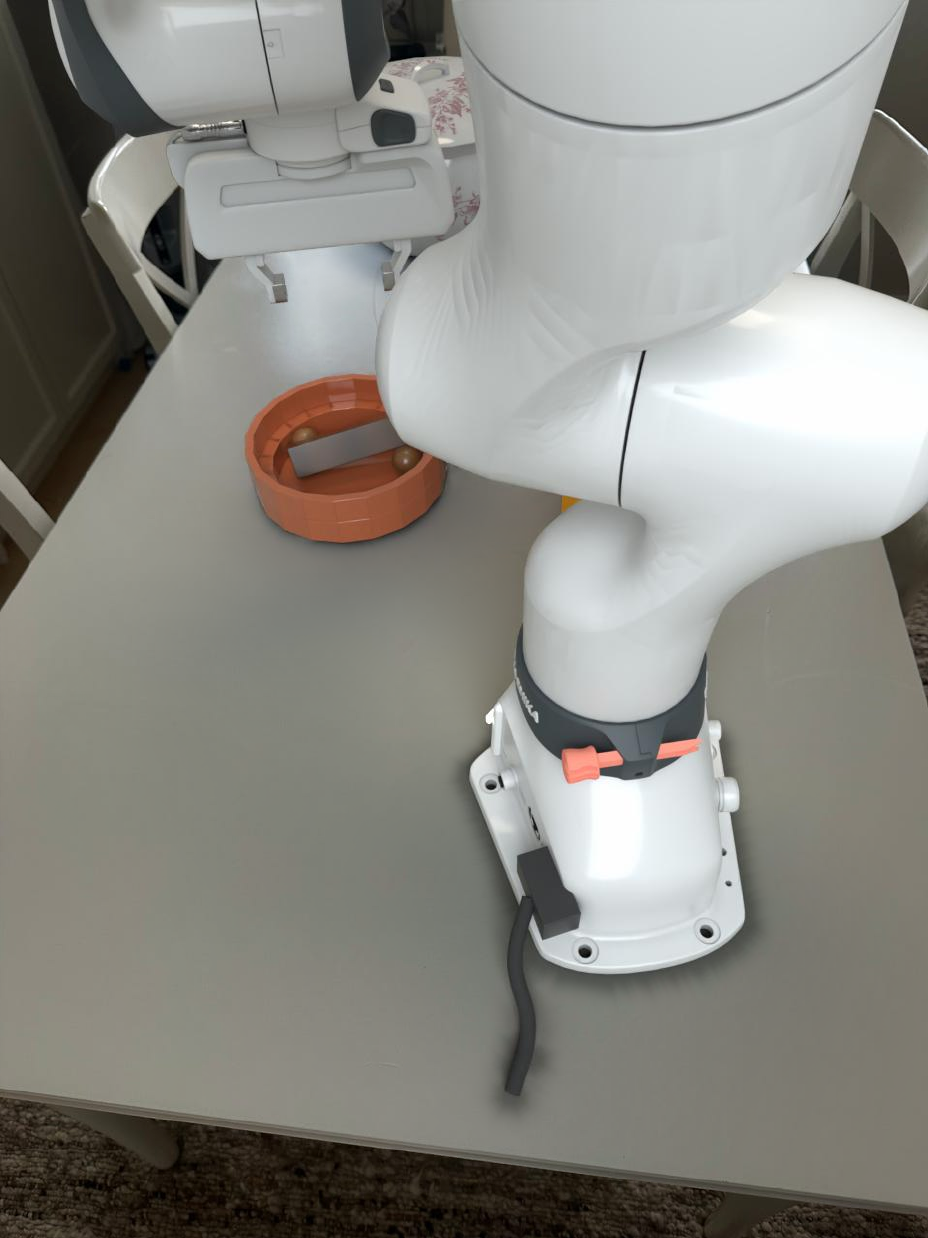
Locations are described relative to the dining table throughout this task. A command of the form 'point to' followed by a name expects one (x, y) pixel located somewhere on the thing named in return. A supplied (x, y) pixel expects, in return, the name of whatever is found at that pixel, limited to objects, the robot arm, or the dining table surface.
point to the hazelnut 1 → (303, 434)
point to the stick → (343, 446)
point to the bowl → (344, 495)
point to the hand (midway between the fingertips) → (335, 293)
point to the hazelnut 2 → (405, 459)
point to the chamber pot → (447, 134)
